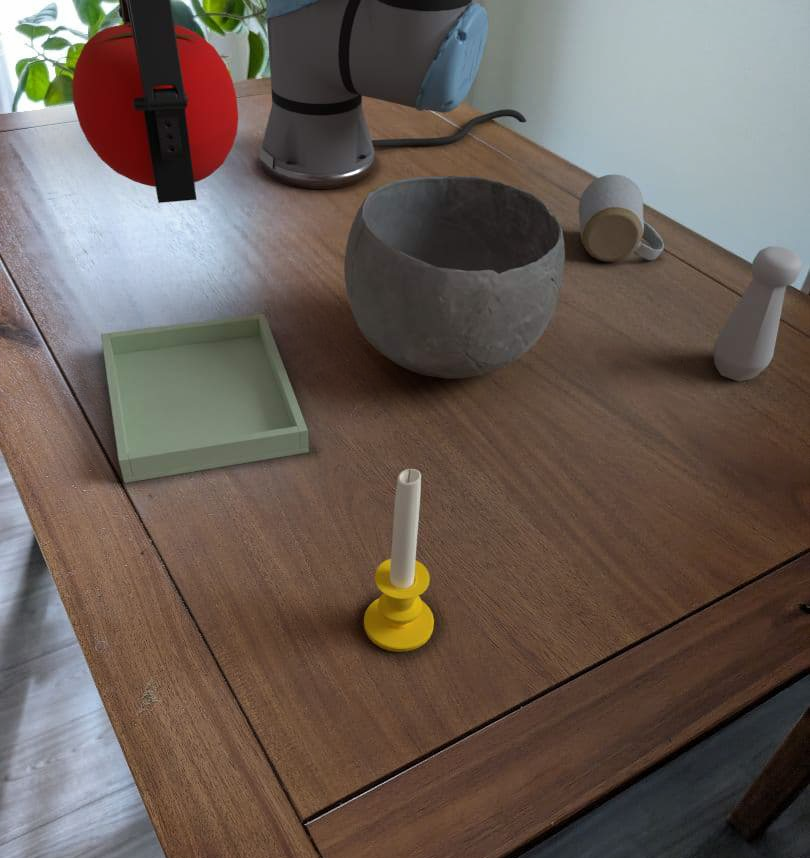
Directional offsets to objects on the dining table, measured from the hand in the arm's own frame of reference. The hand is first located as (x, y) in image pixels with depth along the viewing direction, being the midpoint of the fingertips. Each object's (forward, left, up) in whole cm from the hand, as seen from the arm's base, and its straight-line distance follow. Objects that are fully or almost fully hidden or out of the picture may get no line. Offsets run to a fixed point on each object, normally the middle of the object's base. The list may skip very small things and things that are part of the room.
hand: (166, 163), depth 66 cm
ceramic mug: (-53, -16, -22) cm, 59 cm away
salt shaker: (-54, +10, -22) cm, 59 cm away
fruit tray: (0, +2, -21) cm, 22 cm away
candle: (-10, +32, -22) cm, 40 cm away
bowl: (-25, 0, -22) cm, 33 cm away
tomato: (0, 0, -1) cm, 1 cm away
